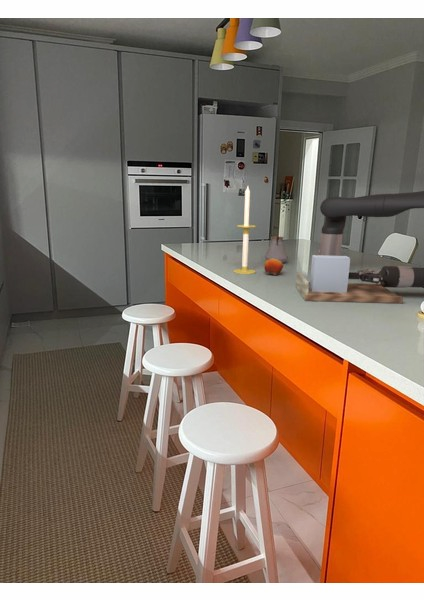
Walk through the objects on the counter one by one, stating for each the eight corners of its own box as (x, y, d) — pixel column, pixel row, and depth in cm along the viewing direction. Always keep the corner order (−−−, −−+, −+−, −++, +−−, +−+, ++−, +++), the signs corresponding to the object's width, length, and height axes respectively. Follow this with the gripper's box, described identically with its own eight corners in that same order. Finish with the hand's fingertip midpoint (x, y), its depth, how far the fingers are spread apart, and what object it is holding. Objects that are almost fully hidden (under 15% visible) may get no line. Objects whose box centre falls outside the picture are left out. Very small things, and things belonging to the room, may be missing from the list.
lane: (305, 300, 141) (306, 282, 139) (295, 287, 160) (297, 271, 159) (401, 303, 140) (404, 285, 138) (381, 289, 159) (383, 273, 158)
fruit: (260, 272, 179) (264, 255, 181) (264, 279, 187) (267, 262, 189) (279, 274, 177) (282, 256, 179) (282, 280, 184) (285, 263, 186)
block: (312, 291, 148) (315, 257, 144) (309, 288, 152) (312, 255, 149) (346, 292, 147) (350, 258, 144) (343, 289, 152) (346, 255, 149)
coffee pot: (264, 260, 219) (266, 231, 216) (286, 261, 218) (288, 232, 214) (263, 267, 199) (265, 235, 195) (288, 268, 197) (290, 236, 194)
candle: (228, 271, 188) (231, 184, 178) (243, 268, 195) (246, 184, 185) (245, 275, 181) (249, 184, 172) (260, 272, 188) (264, 185, 178)
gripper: (391, 263, 153) (342, 261, 154) (405, 269, 140) (353, 268, 141) (388, 283, 155) (340, 281, 156) (402, 291, 142) (350, 290, 143)
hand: (346, 275), depth 148 cm, fingers closed
